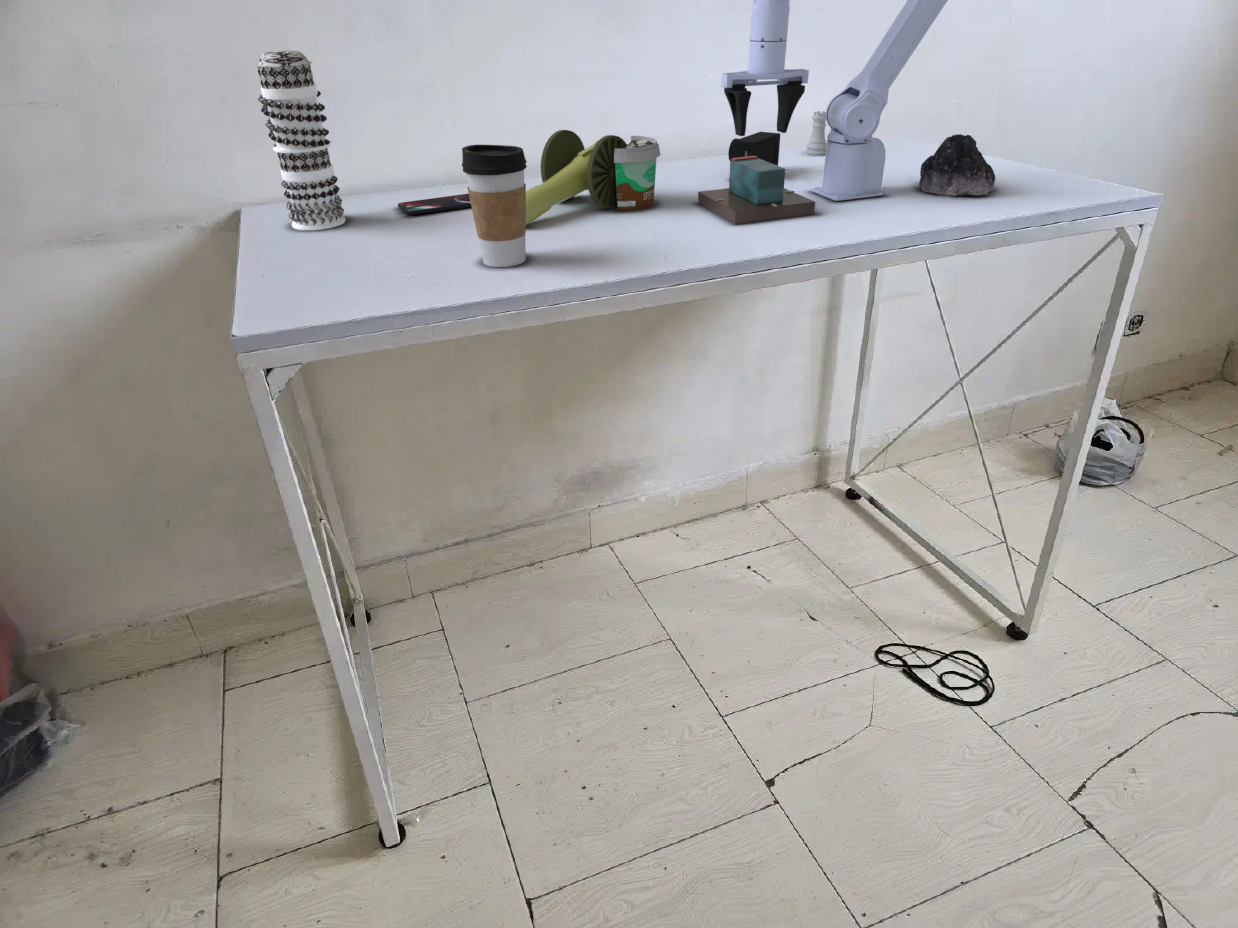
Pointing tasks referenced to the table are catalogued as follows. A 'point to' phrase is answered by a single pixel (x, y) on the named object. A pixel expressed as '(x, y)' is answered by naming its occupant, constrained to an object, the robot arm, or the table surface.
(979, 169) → the crystal cluster
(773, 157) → the digital camera
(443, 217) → the table surface
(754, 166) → the teal block red stripe
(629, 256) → the table surface
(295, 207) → the white patterned cylinder
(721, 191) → the clock
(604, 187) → the cannon
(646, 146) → the food container
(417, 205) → the smartphone
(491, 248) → the coffee cup
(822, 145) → the white chess piece
